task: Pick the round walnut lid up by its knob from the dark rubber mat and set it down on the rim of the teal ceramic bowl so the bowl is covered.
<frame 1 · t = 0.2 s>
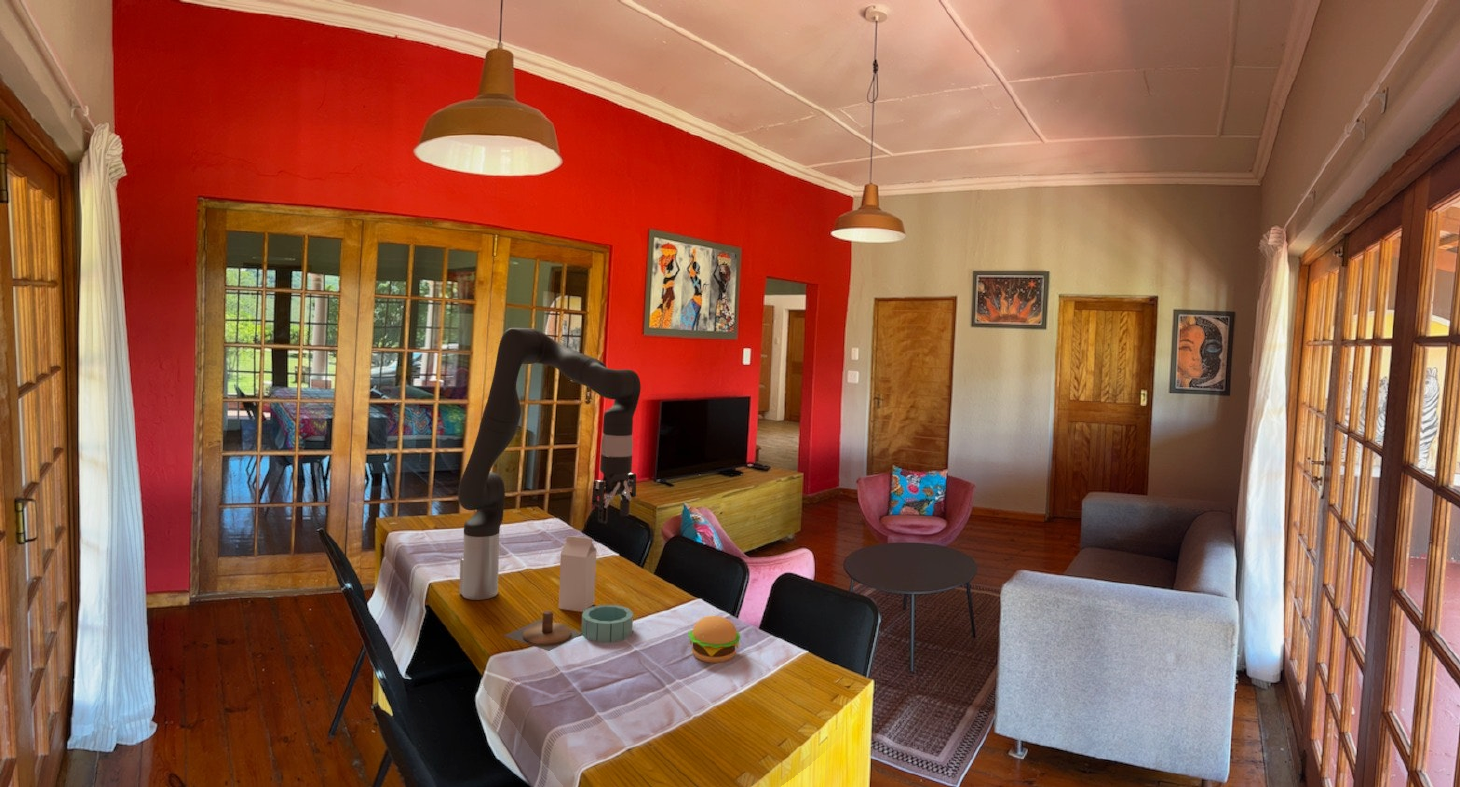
hand: (613, 519, 175), 28 cm above the table, fingers open, 8 cm apart
milk carton: (576, 608, 193), on the table
mat: (543, 636, 173), on the table
hamburger: (713, 655, 169), on the table
lid: (547, 635, 173), point 1 cm above the table, touching mat
bowl: (606, 633, 177), on the table
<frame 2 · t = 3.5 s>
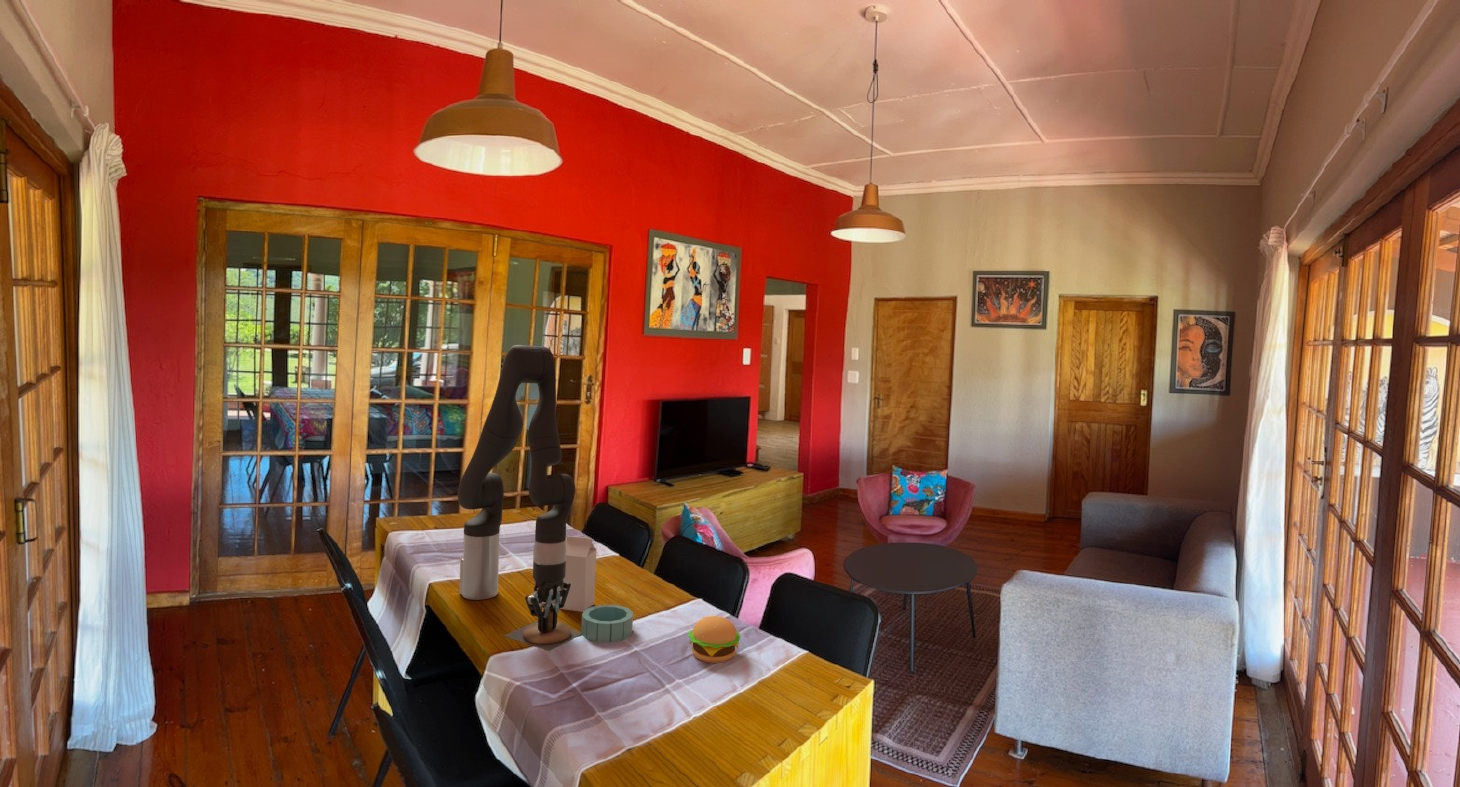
hand: (547, 629, 173), 2 cm above the table, fingers closed on lid, 2 cm apart
lid: (547, 634, 173), point 1 cm above the table, touching gripper
everything else where it was.
when the fingers open (8 cm above the table, at t = 7.4 s): lid drops 2 cm, resting on bowl.
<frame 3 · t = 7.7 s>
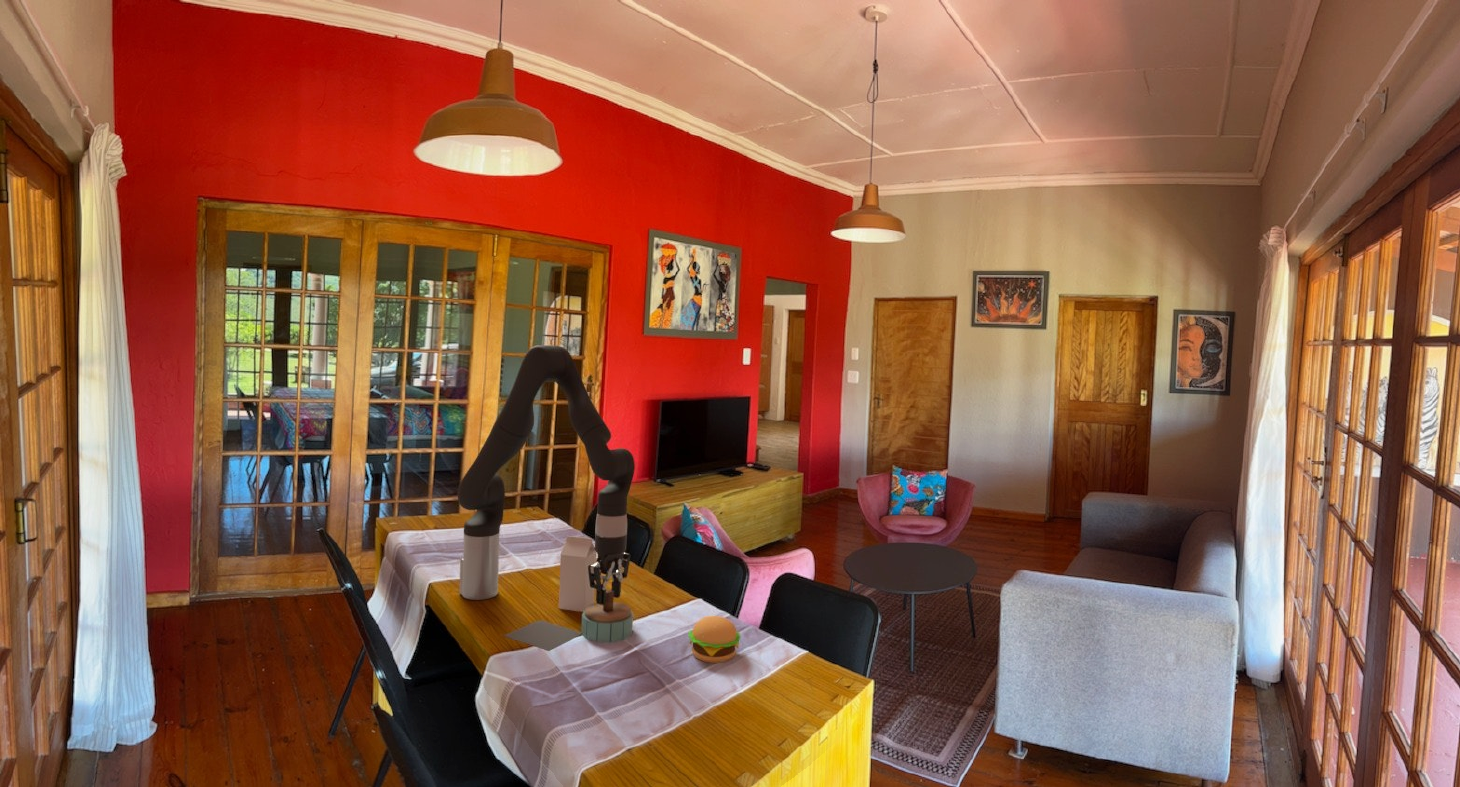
hand: (608, 600, 176), 8 cm above the table, fingers open, 5 cm apart
lid: (607, 613, 176), point 5 cm above the table, touching bowl
everything else where it was.
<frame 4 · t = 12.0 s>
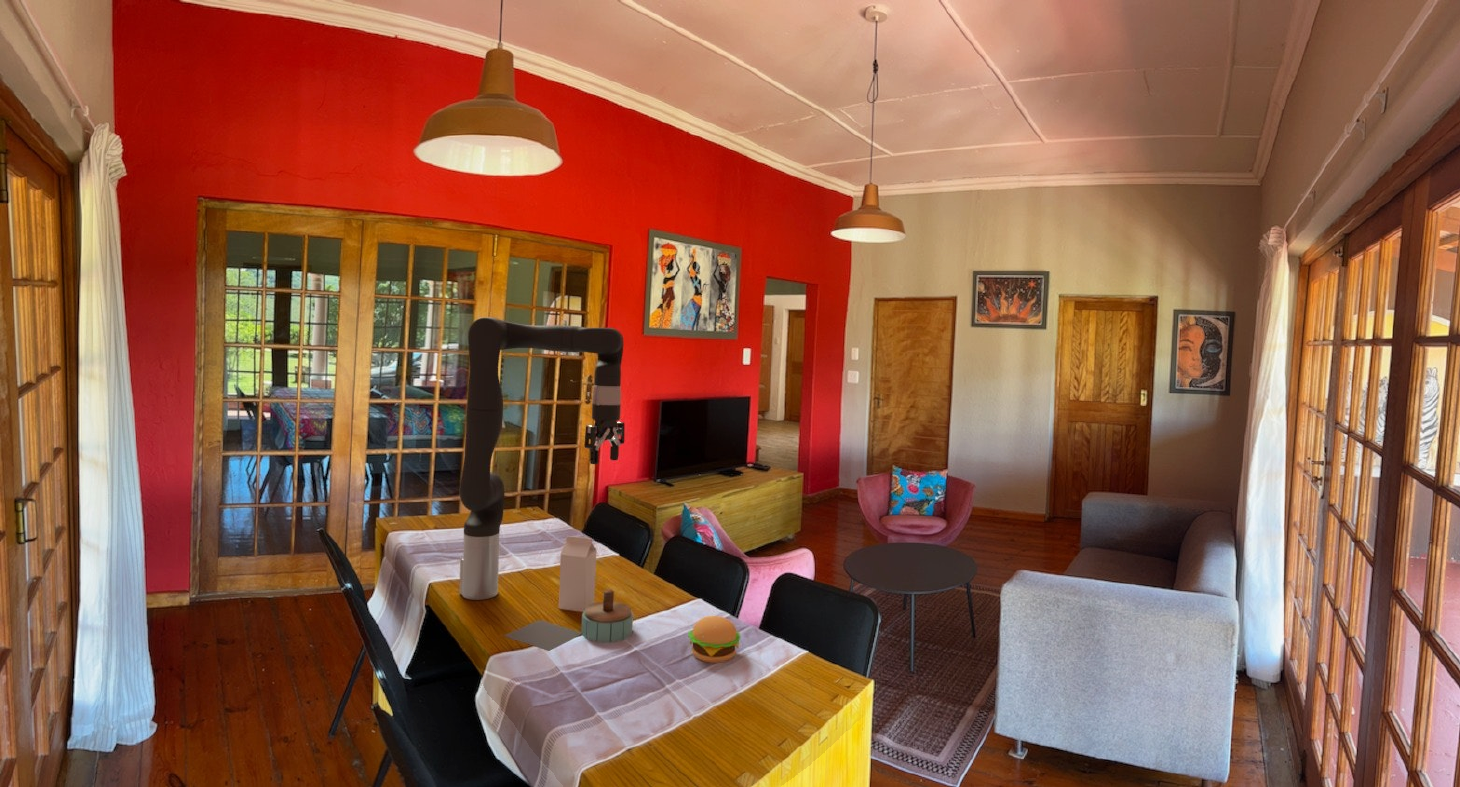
hand: (604, 462, 196), 38 cm above the table, fingers open, 8 cm apart
nothing on the table moved.
at the end: lid 0.0 cm from the bowl (horizontally); lid 0.0 cm off-centre on the bowl, point 5.0 cm above the bowl's base; lid tilted 0° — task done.
